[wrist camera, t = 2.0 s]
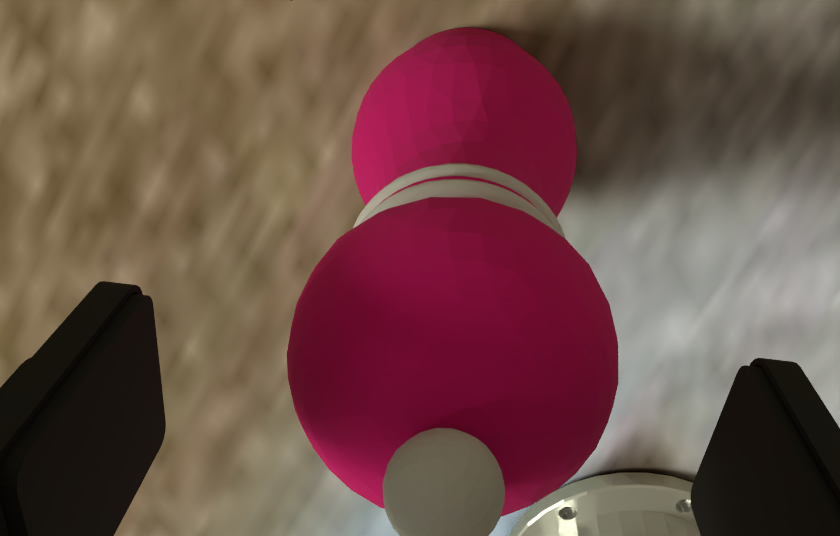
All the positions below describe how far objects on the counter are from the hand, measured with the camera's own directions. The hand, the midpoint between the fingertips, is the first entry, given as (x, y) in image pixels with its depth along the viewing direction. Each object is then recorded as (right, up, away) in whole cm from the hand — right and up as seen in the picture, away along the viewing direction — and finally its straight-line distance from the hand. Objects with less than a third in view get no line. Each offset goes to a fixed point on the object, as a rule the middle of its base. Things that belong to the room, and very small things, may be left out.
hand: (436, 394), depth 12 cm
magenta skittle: (+1, +8, +16) cm, 18 cm away
